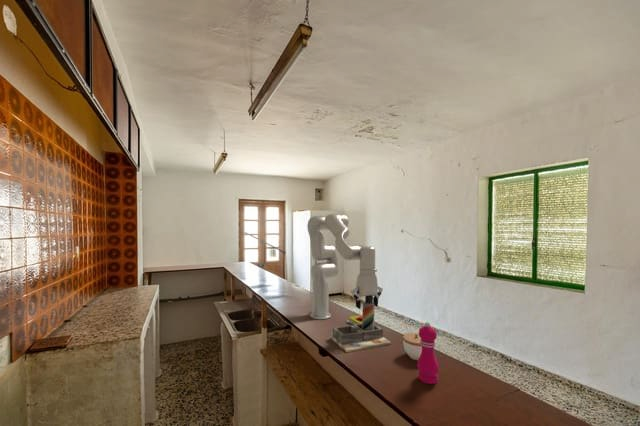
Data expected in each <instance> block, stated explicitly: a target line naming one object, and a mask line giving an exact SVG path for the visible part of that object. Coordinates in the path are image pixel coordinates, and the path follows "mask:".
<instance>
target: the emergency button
mask: <svg viewBox="0 0 640 426" xmlns="http://www.w3.org/2000/svg"><path fill="white" fill-rule="evenodd" d="M362 316H363V314H362V315H361V314H359V315H355V316H353V315H352V316H349V317H348V319H347V320H346V322H347V323H349V324H350V325H352V324H353V325H356V324H362Z"/></svg>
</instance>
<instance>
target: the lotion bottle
mask: <svg viewBox="0 0 640 426" xmlns="http://www.w3.org/2000/svg"><path fill="white" fill-rule="evenodd" d="M373 297H374V295H370V296H364V302H363V303H362V330H364V331H369V330H374V324H375V309H376V306H375V304H374V303H373Z"/></svg>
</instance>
